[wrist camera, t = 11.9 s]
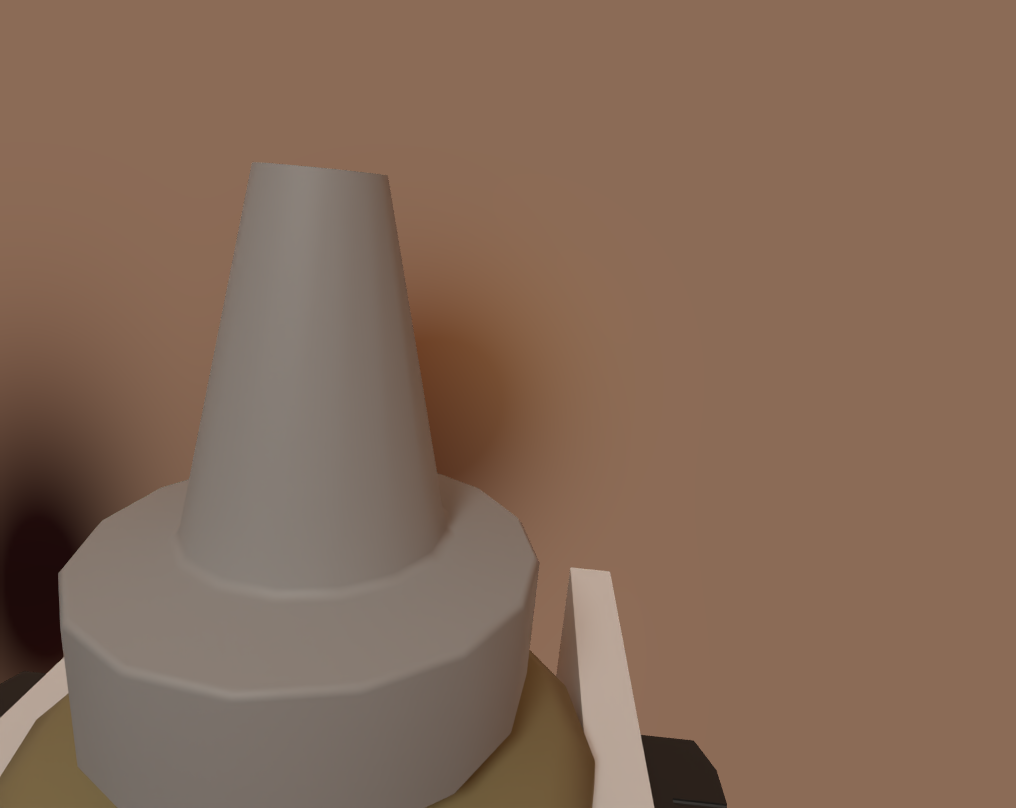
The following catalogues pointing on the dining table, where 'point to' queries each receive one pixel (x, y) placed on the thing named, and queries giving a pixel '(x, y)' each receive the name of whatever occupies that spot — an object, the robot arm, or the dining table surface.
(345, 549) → the squeeze bottle
